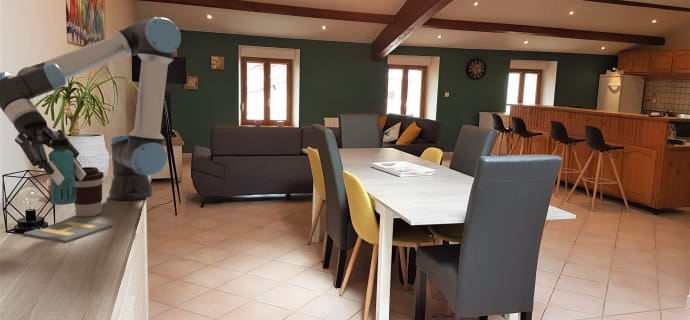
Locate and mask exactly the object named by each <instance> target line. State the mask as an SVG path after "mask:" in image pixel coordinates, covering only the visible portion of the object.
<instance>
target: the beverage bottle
mask: <svg viewBox="0 0 690 320" xmlns="http://www.w3.org/2000/svg"><path fill="white" fill-rule="evenodd" d="M51 141H52V146H68V145H69V143H68V141H69V138H68V137H66V138H54V139H52V140H51ZM47 154H48V155H47V156H48V162H49V161H52V162H53V164H54V165H55V166H56V168H57V169H58V170H59V171H60V173H61V174H62V175H63V177H64V178H65V179H64V180H63V182H62V183H61V184H60V185H57V184H56V182H55V181H54V180H53V178H52V177H51V175H49V176H50V177H49V178H50V179H49V180H50V182H49V183H50V194H51V195H50V197H51V203H52V204H53V205H58V206H64V205H71V204H74V202H76V198H77V197H76V193H77V192H76V186H75V184H76V183H75V170H74V168H75V166H74V157H73V155H74V154H73V152H72V151H70V150H68V149H57V150H53V149H52V150H51V151H50V152H49V153H47Z"/></svg>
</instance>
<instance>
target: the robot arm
mask: <svg viewBox="0 0 690 320" xmlns="http://www.w3.org/2000/svg"><path fill="white" fill-rule="evenodd" d="M181 41H182V37H181V31H180V28H178V25H177V24H175V22H173V21H172V20H170V19H169V18H166V17H158V16H157V17H156V16H154V17H152V18H151V17H150V18H147V19H140V20H138V21H136V22H134V23H132V24H131V25H128V26H126V27H125V28H122V29H120V30H116V31H115V32H114V35H112V36H109V37H107V38H104V39H102V40H99V41H96V42H93V43H90V44H88V45H86V46H83V47H80V48H78V49H74V50H72V51H69V52H66V53H64V54H61V55H58V56H56V57H53V58H50V59H47V60H46V61H43V62H41V63H37V64H35V65H31V66H27V67H26V66H25V67H23V68H21V69H20V70H18V71H17V73H16V75H15V76H13V75H12V74H11V73H9V72H6V71H2V72H0V109H1V111H2V112H3V113H4V115H5V116H6V117H7V119H8V120H9V121H10V123H11V124H12V125H13V127H14V128H15V130H16V132H18V134H17V136H16V137H15V139H14V142H15V143H16V144H18V145H19V146H20V148H21V149H22V151H23V153H24V154H25V156H26V158H27V159H28V161H29V163H30V164H31V165H32V166H33V167H37V166H38V167H37V168H38V169H40V170H41V169H43V170H44V172H45V173H46V174H47V176H50V175H51V177H52V178H53V180H54V181H55V182H56V184H57V185H60V184H61V183H62V182H63V180H64V179H65V178H64V177H63V175H62V174H61V173H60V171H59V170H58V169H57V168H56V166H55V165H54V164H53V162H52V161H49V158H48V157H47V156H48V155H47V154H46V150H45V147H44V146H47V148H49V149H50V148H51V149H52V150H57V149H68V150H70V151H72V152H73V154H74V155H73V157H74V166H75V168H74V170H75V175H76V176H77V178H78V179H79V180H82V179H83V178H84V177H85V175H86V173H85V172H84V170H83V169H82V168H83V167H82V164H81V163H80V161H78V159H77V158H78V157H79V155H80V152H79V151H78V150H77V148H75V146H74V145H73V144H72V143H71V141H69V140H68V143H69V145H68V146H52V139H54V138H67V137H66V136H65V135H64V132H63V131H62V130H61V129H58V130H57V131H56V130H55V131H54V130H52V128H50V127H49V126H48V123H47V120H46V119H45V118H44V116H43V115H42V114H41V113H40V112H39V109H38V108H37V107H36V106H35V104H34V103H33V101H31V100H32V99H34V98H36V97H40V96H42V95H45V94H47V93H50V92H52V91H53V92H54V91H55V90H59V89H60V88H62V87H65V86H66V84H67V79H70V78H72V77H75V76H78V75H80V74H83V73H85V72H88V71H90V70H93V69H95V68H98V67H101V66H103V65H105V64H108V63H111V62H114V61H115V60H118V59H121V58H124V57H126V58H131V57H134V56H136V55H137V57H139V58H140V60H141V63H140V74H139V83H138V91H137V99H136V109H135V117H134V125H133V127H134V128H133V129H132V130H131V131H130V132H129V133H128V134H126V135H125V134H124V135H122V134H121V135H114V136H112V138H111V143H110V148H111V159H112V160H111V161H112V174H113V175H112V181H111V185H110V189H108V190H109V191H108V197H109V198H110V199H111V200H116V201H135V200H143V199H147V198H150V197H152V196H153V195H154V189H153V187H152V185H151V181H150V178H149V176H154V175H156V174H158V173H160V172H161V171H162V170H163V169H164V168H165V166H166V164H167V161H168V154H167V150H166V149H165V147H164V144H165V137H164V135H163V134H162V133H161V128H162V119H163V113H164V112H163V110H164V102H165V101H164V100H165V92H166V83H167V77H168V75H167V74H168V66H169V65H170V64H171V63H172V62H173V61H174V55H175V51H176V50H177V49H178V48H179V46H180V45H181ZM109 198H108V199H109Z"/></svg>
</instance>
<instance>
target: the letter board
mask: <svg viewBox="0 0 690 320" xmlns="http://www.w3.org/2000/svg"><path fill="white" fill-rule="evenodd" d="M54 224H55V223H51V224H49V225H47V226H48V227H46V228H42V227H39V228H40V229H38V228H35V229H31V230H28V231H25V232H23V235H24V236H28V237H32V238H38V239H43V240H50V241H54V242H60V243H69V242H72V241H75V240H77V239H80V238H83V237H86V236H89V235H92V234H96V233H98V232H101V231H103V229H104V230H107V229H109V228H112V227H113V224H109V223H104V222H97V221H92V220H87V219H86V220H85V219H78V218H69V219H65V220H62V221H59V222H56V224H55V225H54ZM106 228H107V229H106ZM100 230H101V231H100Z"/></svg>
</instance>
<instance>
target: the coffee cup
mask: <svg viewBox="0 0 690 320" xmlns="http://www.w3.org/2000/svg"><path fill="white" fill-rule="evenodd" d="M81 168H82V169H83V170H84V172H85V173H86V175H85V177H84V178H83V179H82V180H79V179H78V178H77V176H76V175H75V183H76V184H75V186H76V192H77V193H76V197H77V198H76V202H74V203H73V204H74V208H75V214H76V216H77V217H81V218H88V217H94V216H98V215H100V214H101V213H102V201H103V183H102V182H103V181H102V180H103V178H104V177H105V176H104V172H103V171H100V170H99V168H98V167H95V166H83V167H81Z"/></svg>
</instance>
